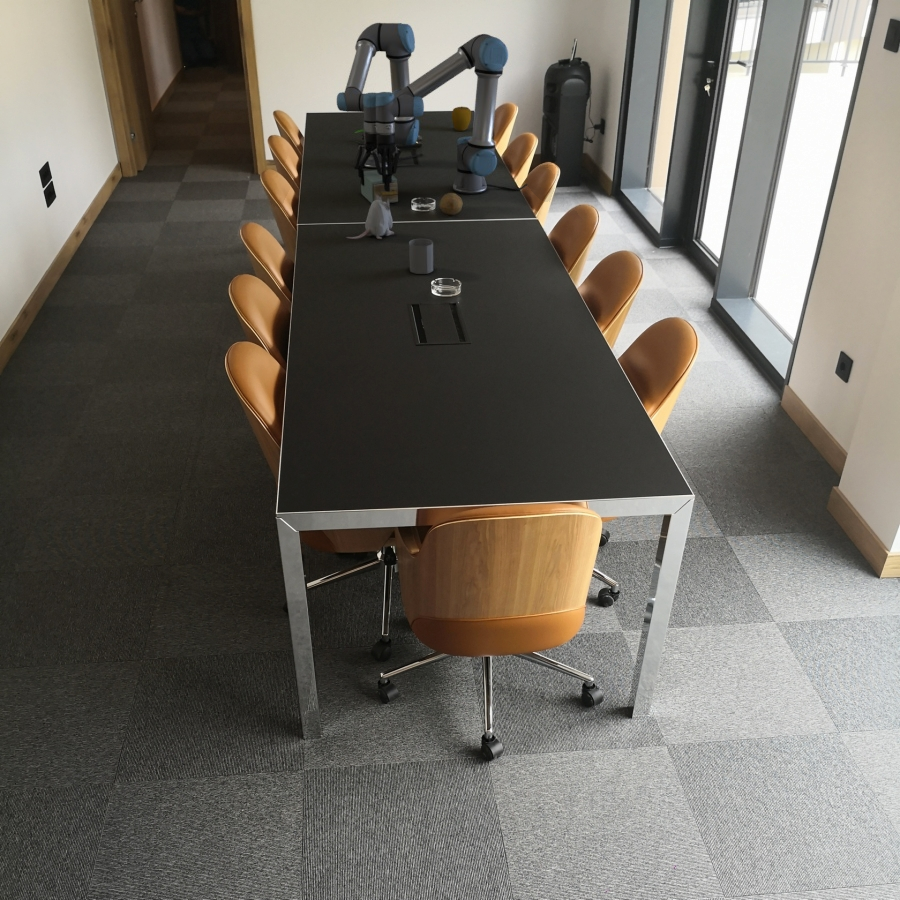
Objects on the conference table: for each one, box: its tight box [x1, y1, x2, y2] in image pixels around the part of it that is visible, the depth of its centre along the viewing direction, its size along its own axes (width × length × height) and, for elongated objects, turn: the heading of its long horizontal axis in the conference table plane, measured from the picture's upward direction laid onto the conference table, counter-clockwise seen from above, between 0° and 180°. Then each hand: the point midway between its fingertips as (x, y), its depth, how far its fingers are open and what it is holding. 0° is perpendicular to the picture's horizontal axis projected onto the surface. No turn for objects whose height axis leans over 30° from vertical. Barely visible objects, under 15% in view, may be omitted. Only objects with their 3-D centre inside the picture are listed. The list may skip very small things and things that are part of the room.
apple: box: [451, 105, 472, 132], centre depth 487 cm, size 11×11×13 cm
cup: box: [408, 237, 434, 275], centre depth 305 cm, size 8×8×10 cm
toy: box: [345, 195, 395, 240], centre depth 331 cm, size 9×24×15 cm, turn 137°
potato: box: [439, 192, 464, 216], centre depth 360 cm, size 10×14×8 cm
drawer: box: [374, 181, 399, 203], centre depth 375 cm, size 21×10×8 cm, turn 21°
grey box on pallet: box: [360, 169, 399, 204], centre depth 379 cm, size 17×11×10 cm, turn 21°
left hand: (375, 183), depth 383 cm, fingers closed on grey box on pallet, 11 cm apart
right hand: (387, 190), depth 368 cm, fingers closed
